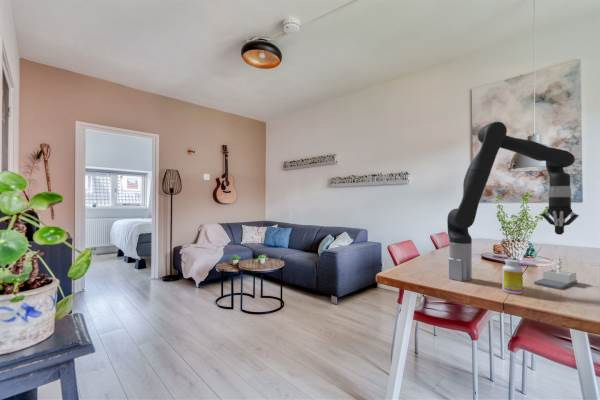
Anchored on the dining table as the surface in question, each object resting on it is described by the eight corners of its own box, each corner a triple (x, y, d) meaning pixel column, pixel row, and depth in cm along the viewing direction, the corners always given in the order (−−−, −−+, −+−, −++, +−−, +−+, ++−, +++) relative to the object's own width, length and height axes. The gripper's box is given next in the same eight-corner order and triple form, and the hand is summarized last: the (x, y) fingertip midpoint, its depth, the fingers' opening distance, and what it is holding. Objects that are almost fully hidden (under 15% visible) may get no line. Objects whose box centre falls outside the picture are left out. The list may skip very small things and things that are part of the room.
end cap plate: (560, 289, 118) (560, 278, 118) (534, 284, 126) (534, 273, 126) (576, 282, 129) (576, 272, 129) (551, 278, 137) (551, 268, 137)
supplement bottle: (525, 295, 112) (525, 262, 112) (505, 293, 114) (505, 261, 114) (519, 290, 118) (518, 259, 118) (500, 288, 120) (499, 258, 120)
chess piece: (549, 278, 132) (549, 256, 132) (558, 277, 133) (558, 256, 133) (559, 280, 127) (559, 258, 127) (569, 280, 128) (569, 258, 128)
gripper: (538, 196, 134) (538, 233, 134) (576, 196, 122) (576, 236, 122) (544, 196, 138) (544, 232, 138) (582, 196, 126) (581, 235, 126)
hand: (559, 234), depth 130 cm, fingers closed
